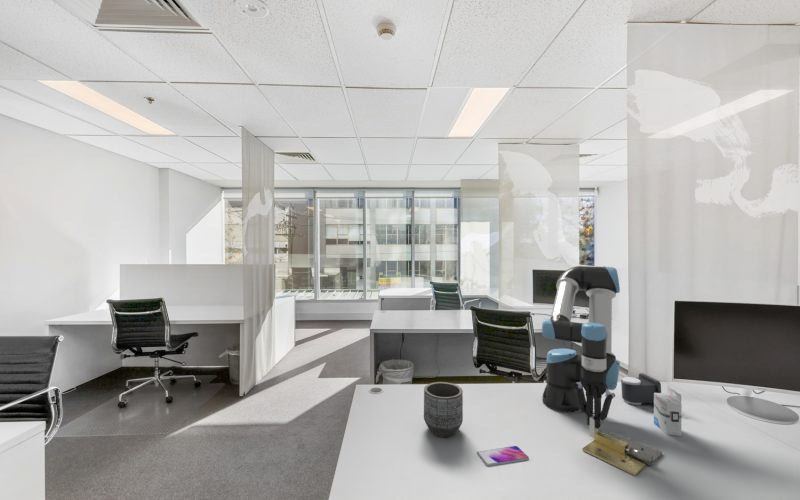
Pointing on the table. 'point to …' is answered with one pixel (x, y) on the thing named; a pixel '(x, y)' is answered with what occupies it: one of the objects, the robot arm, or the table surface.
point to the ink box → (668, 411)
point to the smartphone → (502, 456)
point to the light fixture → (639, 389)
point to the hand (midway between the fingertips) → (593, 435)
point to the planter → (443, 408)
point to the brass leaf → (613, 452)
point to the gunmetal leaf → (639, 450)
